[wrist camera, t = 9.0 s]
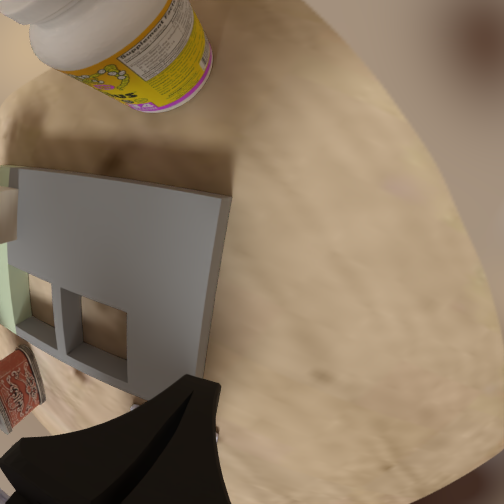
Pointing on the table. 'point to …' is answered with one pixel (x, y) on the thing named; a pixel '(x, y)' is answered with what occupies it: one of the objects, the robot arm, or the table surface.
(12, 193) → the block
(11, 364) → the ornate red tin
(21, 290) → the grey divided tray
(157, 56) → the supplement bottle
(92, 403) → the table surface
